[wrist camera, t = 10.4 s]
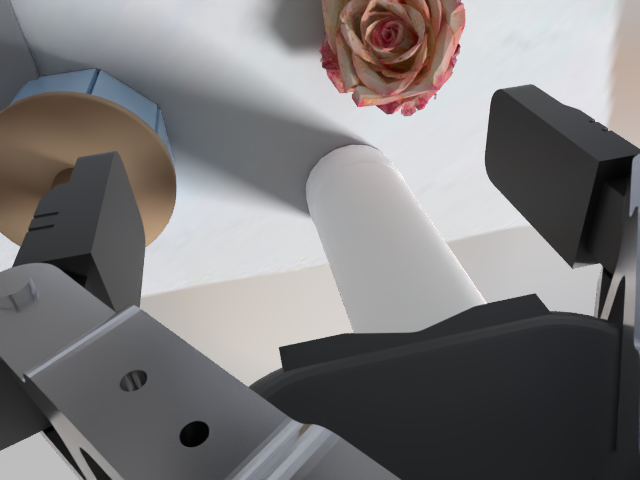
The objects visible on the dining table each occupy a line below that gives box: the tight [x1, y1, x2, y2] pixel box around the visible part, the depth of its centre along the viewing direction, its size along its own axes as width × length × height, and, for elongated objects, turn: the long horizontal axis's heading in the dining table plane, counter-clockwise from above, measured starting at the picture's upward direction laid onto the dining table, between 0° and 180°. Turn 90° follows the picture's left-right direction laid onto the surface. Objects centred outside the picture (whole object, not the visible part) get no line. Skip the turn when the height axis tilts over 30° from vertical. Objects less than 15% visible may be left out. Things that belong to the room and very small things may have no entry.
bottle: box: [306, 145, 487, 333], centre depth 34 cm, size 8×8×30 cm
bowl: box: [10, 68, 174, 165], centre depth 37 cm, size 11×11×5 cm
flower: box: [319, 0, 465, 116], centre depth 36 cm, size 10×9×8 cm
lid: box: [0, 91, 176, 247], centre depth 33 cm, size 12×12×6 cm
